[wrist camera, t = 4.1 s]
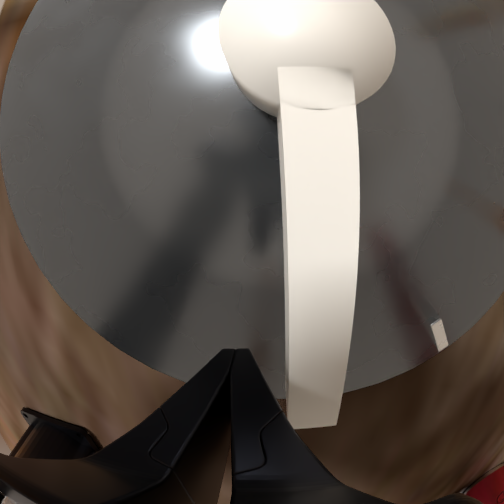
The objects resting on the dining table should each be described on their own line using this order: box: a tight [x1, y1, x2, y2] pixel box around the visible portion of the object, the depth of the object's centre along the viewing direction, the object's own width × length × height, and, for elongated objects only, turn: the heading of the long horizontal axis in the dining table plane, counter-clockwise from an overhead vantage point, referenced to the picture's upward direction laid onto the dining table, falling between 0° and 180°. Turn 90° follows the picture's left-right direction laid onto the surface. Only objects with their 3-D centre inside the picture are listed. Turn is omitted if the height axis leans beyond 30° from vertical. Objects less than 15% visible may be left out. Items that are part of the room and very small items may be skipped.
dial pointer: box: [218, 0, 396, 429], centre depth 7 cm, size 13×4×2 cm, turn 4°
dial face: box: [0, 0, 504, 399], centre depth 7 cm, size 24×24×1 cm
